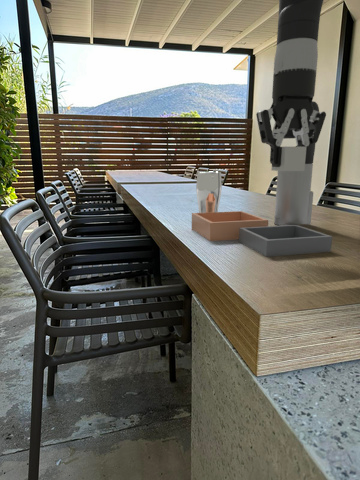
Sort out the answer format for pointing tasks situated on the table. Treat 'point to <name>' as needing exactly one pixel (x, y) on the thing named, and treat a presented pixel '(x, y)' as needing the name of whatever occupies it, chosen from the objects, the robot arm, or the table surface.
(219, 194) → the silver metal tumbler
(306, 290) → the table surface
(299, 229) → the charcoal bin
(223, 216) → the terracotta tray
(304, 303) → the table surface
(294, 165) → the off-white cube block
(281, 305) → the table surface
